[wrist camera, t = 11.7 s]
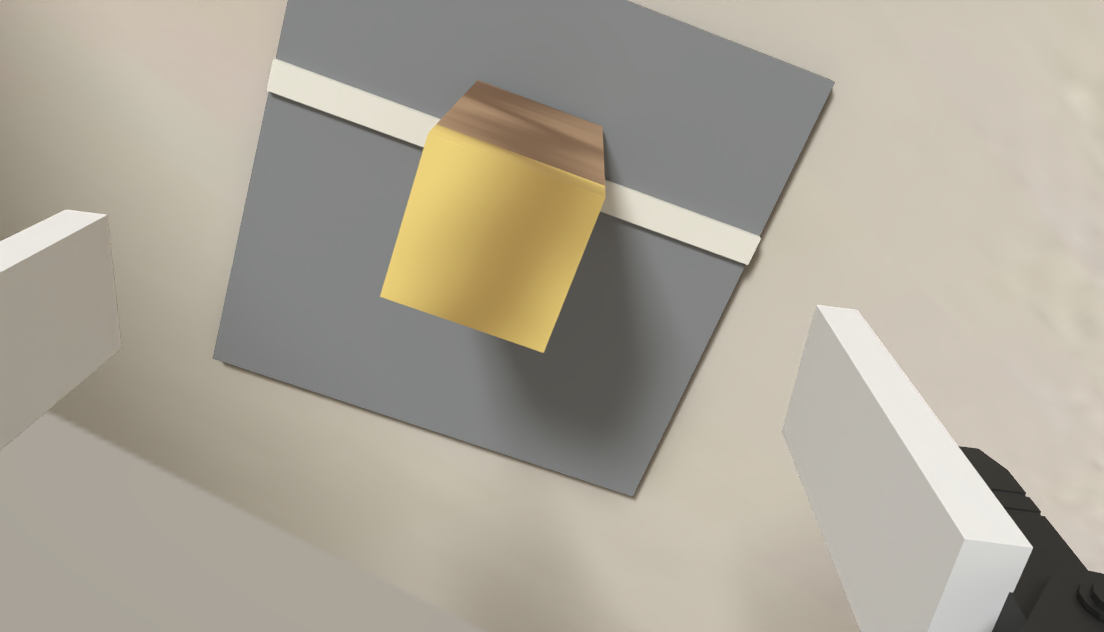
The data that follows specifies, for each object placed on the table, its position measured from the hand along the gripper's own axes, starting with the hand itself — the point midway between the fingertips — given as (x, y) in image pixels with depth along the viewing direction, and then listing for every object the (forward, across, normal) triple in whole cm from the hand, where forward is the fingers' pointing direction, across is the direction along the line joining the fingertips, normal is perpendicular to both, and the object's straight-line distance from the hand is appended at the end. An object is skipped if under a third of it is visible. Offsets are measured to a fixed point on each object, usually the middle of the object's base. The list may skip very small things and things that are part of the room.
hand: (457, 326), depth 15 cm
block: (+18, 0, -1) cm, 18 cm away
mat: (+19, -1, -4) cm, 19 cm away
